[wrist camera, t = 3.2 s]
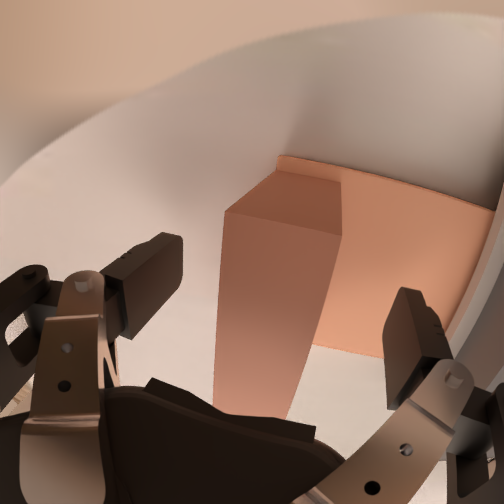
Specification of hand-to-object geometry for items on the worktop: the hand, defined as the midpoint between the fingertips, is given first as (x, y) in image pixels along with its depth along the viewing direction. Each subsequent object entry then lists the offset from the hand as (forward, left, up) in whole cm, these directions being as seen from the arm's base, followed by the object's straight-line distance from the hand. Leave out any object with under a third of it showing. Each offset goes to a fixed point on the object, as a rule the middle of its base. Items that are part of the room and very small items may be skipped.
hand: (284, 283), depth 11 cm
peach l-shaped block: (-9, 0, -2) cm, 9 cm away
